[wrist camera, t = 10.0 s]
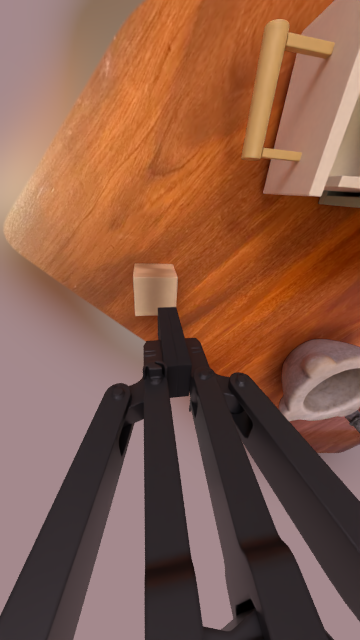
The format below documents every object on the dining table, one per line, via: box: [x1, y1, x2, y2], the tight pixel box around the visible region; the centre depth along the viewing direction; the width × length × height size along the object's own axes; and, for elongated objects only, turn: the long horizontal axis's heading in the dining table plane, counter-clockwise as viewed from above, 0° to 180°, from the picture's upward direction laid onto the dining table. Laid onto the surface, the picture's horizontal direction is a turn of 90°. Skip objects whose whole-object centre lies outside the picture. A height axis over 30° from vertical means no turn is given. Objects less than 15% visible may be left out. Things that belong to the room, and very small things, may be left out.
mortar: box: [279, 339, 360, 421], centre depth 38 cm, size 17×17×9 cm
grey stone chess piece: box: [345, 410, 360, 433], centre depth 46 cm, size 6×6×12 cm
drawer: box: [241, 0, 360, 197], centre depth 18 cm, size 19×12×8 cm, turn 86°
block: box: [133, 263, 178, 316], centre depth 26 cm, size 5×5×5 cm
